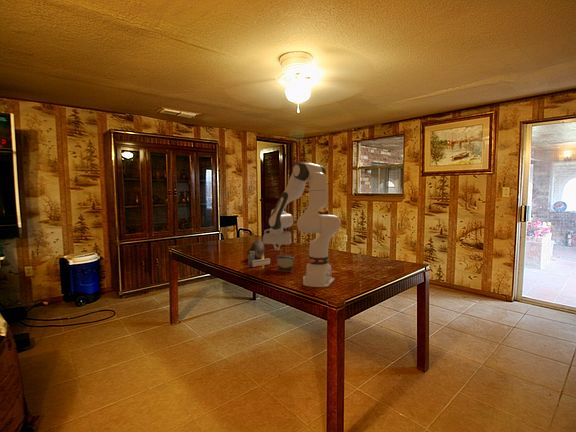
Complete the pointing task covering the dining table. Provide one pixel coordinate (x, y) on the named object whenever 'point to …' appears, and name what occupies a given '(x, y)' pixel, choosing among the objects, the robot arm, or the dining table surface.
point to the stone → (257, 249)
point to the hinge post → (249, 261)
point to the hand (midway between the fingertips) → (277, 250)
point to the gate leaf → (260, 262)
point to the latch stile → (252, 255)
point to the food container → (285, 262)
